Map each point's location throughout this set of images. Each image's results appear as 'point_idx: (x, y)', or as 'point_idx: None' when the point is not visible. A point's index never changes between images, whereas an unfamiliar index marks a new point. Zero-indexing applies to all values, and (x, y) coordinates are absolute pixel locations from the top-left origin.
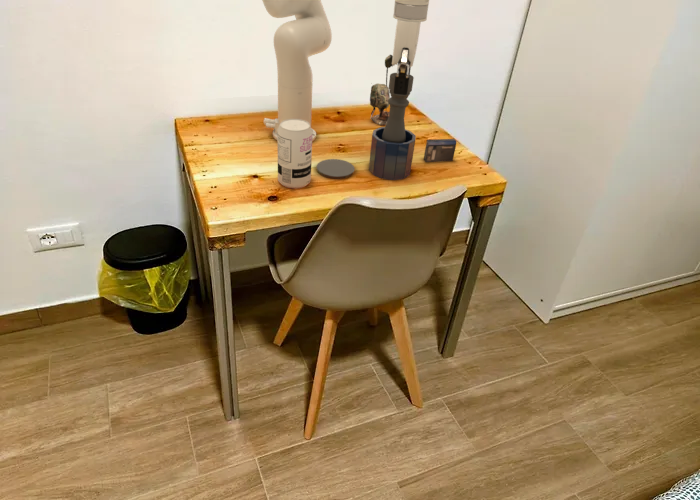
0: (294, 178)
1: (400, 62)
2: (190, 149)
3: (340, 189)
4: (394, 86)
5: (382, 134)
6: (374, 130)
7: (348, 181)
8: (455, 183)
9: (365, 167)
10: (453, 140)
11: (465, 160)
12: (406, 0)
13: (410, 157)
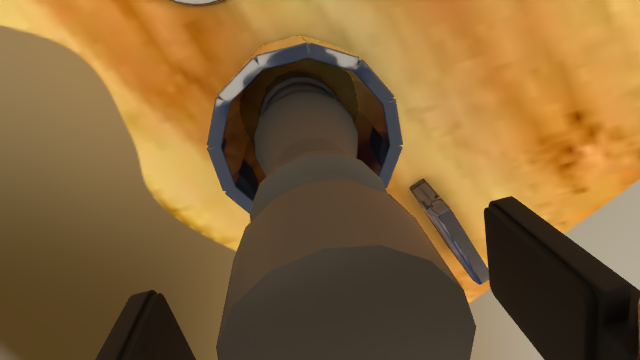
0: None
1: (637, 339)
2: None
3: (69, 5)
4: (111, 337)
5: (290, 96)
6: (309, 47)
7: (141, 9)
8: None
9: (276, 26)
10: (478, 278)
11: (466, 273)
12: None
13: None
